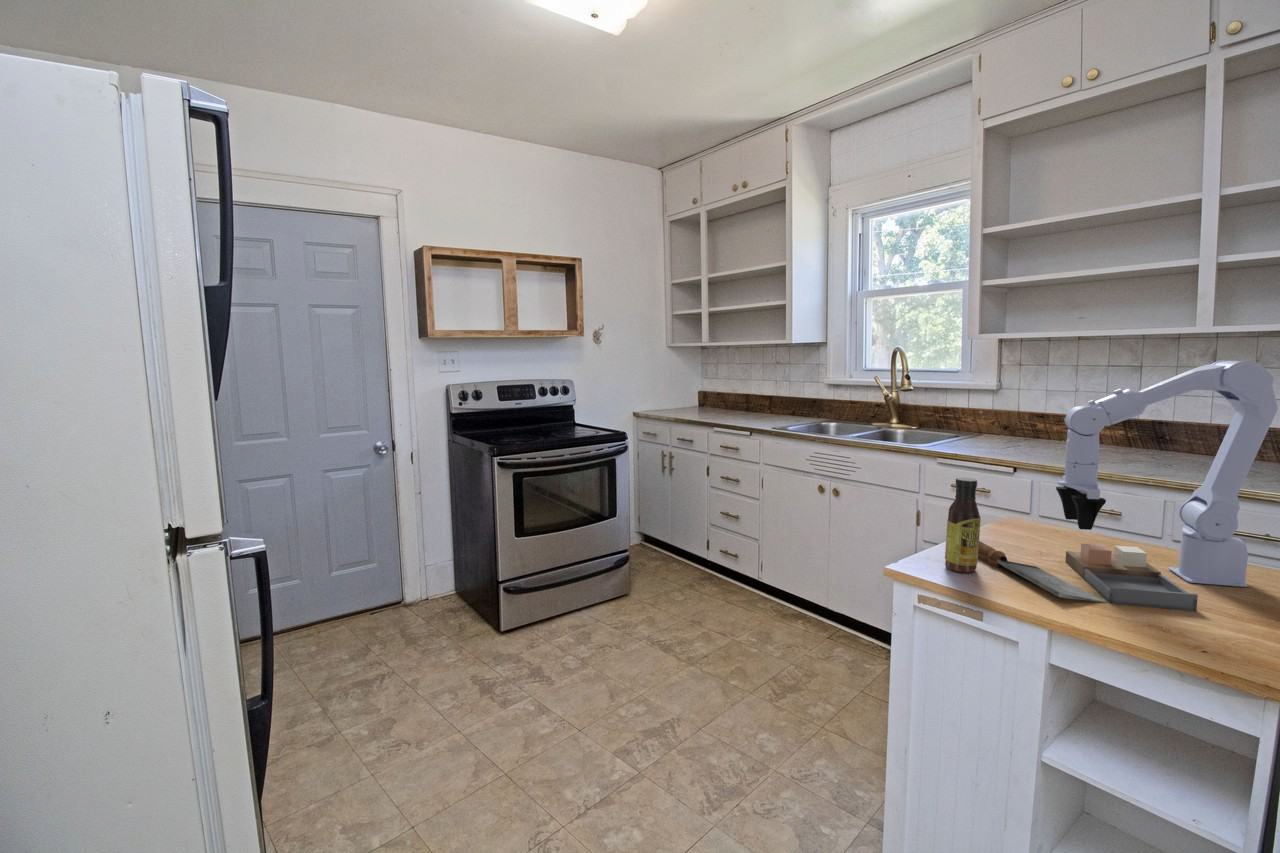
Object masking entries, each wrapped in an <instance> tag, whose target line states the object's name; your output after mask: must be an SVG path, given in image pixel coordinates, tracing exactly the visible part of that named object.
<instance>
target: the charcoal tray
mask: <svg viewBox="0 0 1280 853" xmlns="http://www.w3.org/2000/svg"><path fill="white" fill-rule="evenodd" d="M1083 580H1084V581H1085V582H1087V583H1088V585H1090V586H1091V587H1092V588H1093V589H1094V590H1095V591H1096V592H1097V593H1098V594H1099V595H1101V597H1102V598H1104V599H1105V601H1106V602H1107V603H1109V604H1113V605H1114V604H1115V605H1123V606H1124V605H1125V606H1133V607H1134V606H1136V607H1147V608H1159V609H1170V610H1179V611H1180V610H1181V611H1191V612H1192V611H1193V612H1197V609H1198V608H1197V606H1198V600H1199V599H1198V597H1199V595H1198V593H1192V592H1191V593H1190V592H1187V590H1185V589H1183V588H1182V587H1181V586H1179V585H1177V584H1176V583H1174V582H1173V581H1172V580H1171V579H1169V578H1168V577H1166V576H1165V575H1163V574H1162V573H1161V574H1158V578H1156V577H1143V576H1130V575H1117V574H1104V573H1092V572H1091V571H1090V570H1088V569H1084V579H1083Z"/></svg>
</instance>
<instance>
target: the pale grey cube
mask: <svg viewBox="0 0 1280 853" xmlns="http://www.w3.org/2000/svg"><path fill="white" fill-rule="evenodd" d="M1113 554H1114V560H1115V561H1117V562H1118V563H1119V564H1120V565H1122V566H1132V567H1146V562H1147V559H1148V558H1147V556H1148V553H1147V552H1146V551H1145V550H1143V549H1141V548H1140V547H1138V546H1129V545H1128V546H1126V545H1124V546H1123V545H1114V550H1113Z"/></svg>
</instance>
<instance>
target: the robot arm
mask: <svg viewBox="0 0 1280 853" xmlns="http://www.w3.org/2000/svg"><path fill="white" fill-rule="evenodd" d="M1274 380H1275V378H1274V376H1273V375H1272V374H1271V373H1270V371H1268V370H1267V369H1266V367H1264V366H1263V365H1262V364H1261V363H1259V362H1255V361H1252V360H1242V361H1241V360H1239V361H1238V360H1232V359H1221V360H1218V361H1215V362H1213V363H1212V364H1204V365H1200V366H1198V367H1195V368H1192V369H1189V370H1187V371H1185V372H1183V373H1179V374H1177V375H1175V376H1173V377H1169V378H1168V379H1166V380H1163V381H1160V382H1158V383H1155V384H1153V385H1151V386H1148V387H1146V388H1143V389H1141V390H1139V391H1138V390H1134V389H1131V388H1127V389H1124V390H1123V389H1122V388H1118V389H1115V390H1113V394H1110V395H1108V396H1105V397H1103V398H1100V399H1097V400H1094V399H1091V400H1088V401H1087V403H1088V406H1086V405H1077V406H1074V407H1072V408H1071V409H1069V410H1068V412H1067V413H1066V415H1065V417H1064V418H1063V420H1064V424H1065V426H1066V427H1067V432H1066V433H1067V434H1066V436H1067V438H1066V443H1065V457H1064V458H1065V462H1064V475H1062V480H1058V481H1057V485H1059V486H1055V490H1056V492H1057V493H1058V495H1059V498H1060V501H1061V504H1062V509H1063V514H1064V517H1065V520H1069V521H1070V520H1073V521H1077V527H1078V529H1079V530H1086V531H1087V530H1089V531H1090V530H1092V529H1093V526H1094V524H1095V521H1096V519H1097V516H1098V514H1099V512H1100V510H1101V509H1102V508H1103V506H1104V505H1105V504H1106V502H1107V500H1106V498H1104V497H1101V490H1100V489H1099V483H1098V476H1099V472H1098V471H1099V458H1100V455H1099V454H1100V432H1101V431H1103V430H1104V428H1105V427H1110V426H1112V425H1115V424H1118V423H1120V422H1123V421H1126V420H1129V419H1131V418H1134V417H1137V416H1140V415H1142V414H1143V413H1144V412H1145V410H1146V408H1147V407H1148V406H1149V405H1153V404H1155V403H1159V402H1162V401H1164V400H1168V399H1170V398H1173V397H1177V396H1179V395H1183V394H1185V393H1190V392H1192V391H1195V390H1196V391H1198V390H1199V391H1214V392H1216V393H1218V394H1220V396H1222V397H1224V398H1225V399H1226V400H1227V402H1228V403H1229V404H1230V405H1231V407H1232V408H1233V409H1234V411H1235V413H1234V414H1233V418H1232V420H1231V422H1230V424H1229V426H1228V428H1227V430H1226V432H1225V435H1224V437H1223V440H1222V442H1221V444H1220V446H1219V448H1218V450H1217V453H1216V454H1215V457H1214V459H1213V461H1212V464H1211V466H1210V468H1209V470H1208V472H1207V474H1206V477H1205V479H1204V481H1203V483H1202V484H1201V486H1199V487H1198V488H1196V489H1195V490H1193V492H1192V494H1191V497H1190V498H1189V499H1187V500H1186V501H1184V502H1183V503H1182V504H1181V505H1180V507H1179V509H1178V515H1179V518H1180V520H1181V522H1183V523H1184V526H1183V528H1182V529H1181V537H1180V538H1181V539H1180V547H1179V548H1180V549H1179V559H1178V567H1177V566H1176V567H1175V566H1174V567H1173V566H1168V570H1169V571H1171V572H1172V573H1174V574H1175V575H1177V576H1178V577H1179V578H1181V579H1182V580H1184V581H1185V582H1188V583H1192V584H1203V585H1204V584H1206V585H1216V586H1229V587H1230V586H1232V587H1245V588H1247V587H1248V583H1246V576H1247V568H1248V559H1249V555H1248V554H1249V552H1248V551H1249V550H1248V548H1247V545H1246V543H1245V542H1244V541H1243V540H1242V539H1241V538H1239V537H1234V536H1233V535H1234V534H1236V532H1237V531H1238V528H1239V521H1238V514H1239V511H1240V508H1241V507H1240V503H1239V496H1238V494H1239V492H1240V491H1241V488H1242V487H1243V484H1244V482H1245V480H1246V478H1247V476H1248V474H1249V471H1250V470H1251V467H1252V465H1253V463H1254V460H1255V459H1256V457H1257V455H1258V453H1259V450H1260V449H1261V446H1262V444H1263V442H1264V439H1265V438H1266V436H1267V433H1268V431H1269V428H1270V427H1271V425H1272V423H1273V420H1274V419H1275V416H1276V415H1277V412H1278V407H1279V406H1278V403H1277V399H1276V395H1275V390H1274V387H1273V384H1274V383H1273V382H1274Z"/></svg>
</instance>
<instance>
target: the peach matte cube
mask: <svg viewBox="0 0 1280 853" xmlns="http://www.w3.org/2000/svg"><path fill="white" fill-rule="evenodd" d="M1080 552H1081V553H1080V557H1081V558H1082V559H1083V560H1084V561H1086V562H1087V563H1091V564H1105V565H1111V554H1112V552H1113V551H1112V550H1111V549H1109V547H1107V546H1106V545H1104V544H1098V543H1096V544H1095V543H1080Z"/></svg>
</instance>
